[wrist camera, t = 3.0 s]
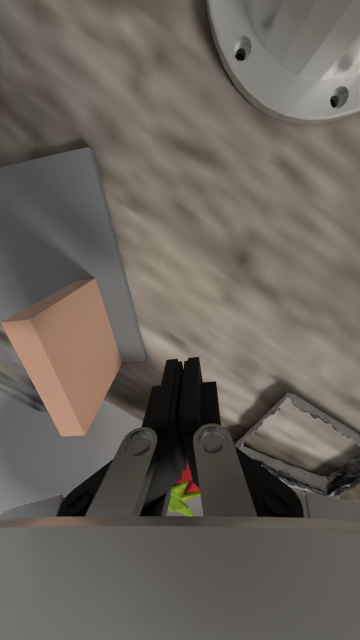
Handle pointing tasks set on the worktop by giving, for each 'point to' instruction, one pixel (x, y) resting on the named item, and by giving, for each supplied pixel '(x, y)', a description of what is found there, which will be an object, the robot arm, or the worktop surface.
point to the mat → (62, 241)
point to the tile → (67, 353)
